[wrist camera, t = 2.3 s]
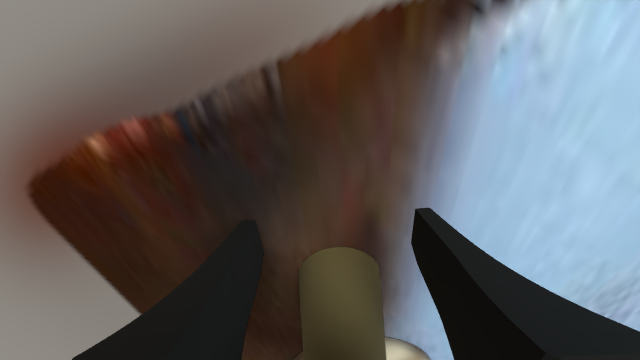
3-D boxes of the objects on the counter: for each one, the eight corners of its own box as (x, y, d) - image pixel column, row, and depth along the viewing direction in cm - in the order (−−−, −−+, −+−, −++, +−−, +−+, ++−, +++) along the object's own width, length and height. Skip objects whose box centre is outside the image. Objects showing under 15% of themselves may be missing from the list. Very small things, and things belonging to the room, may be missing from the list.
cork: (334, 311, 22) (344, 532, 12) (280, 274, 19) (243, 512, 10) (396, 278, 20) (465, 515, 10) (344, 232, 17) (373, 485, 8)
